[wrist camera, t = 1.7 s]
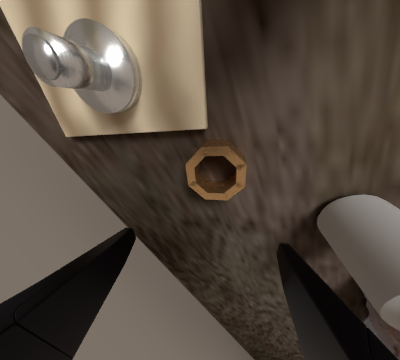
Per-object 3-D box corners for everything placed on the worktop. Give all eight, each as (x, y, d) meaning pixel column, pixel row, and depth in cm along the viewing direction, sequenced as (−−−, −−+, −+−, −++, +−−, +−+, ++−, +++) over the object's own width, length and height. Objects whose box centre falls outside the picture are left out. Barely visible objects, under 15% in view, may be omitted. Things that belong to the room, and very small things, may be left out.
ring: (245, 139, 17) (248, 145, 14) (241, 188, 20) (243, 201, 17) (190, 141, 18) (183, 147, 15) (195, 187, 21) (190, 198, 19)
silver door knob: (129, 20, 13) (50, -46, 7) (149, 109, 16) (105, 112, 10) (66, 36, 14) (-41, -9, 9) (96, 114, 17) (33, 119, 12)
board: (197, -73, 10) (193, -93, 9) (207, 127, 17) (206, 128, 16) (7, -6, 14) (-10, -14, 13) (74, 135, 21) (66, 136, 20)
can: (353, 240, 20) (481, 381, 10) (302, 225, 21) (373, 345, 10) (401, 200, 17) (684, 360, 6) (337, 183, 17) (503, 305, 7)
